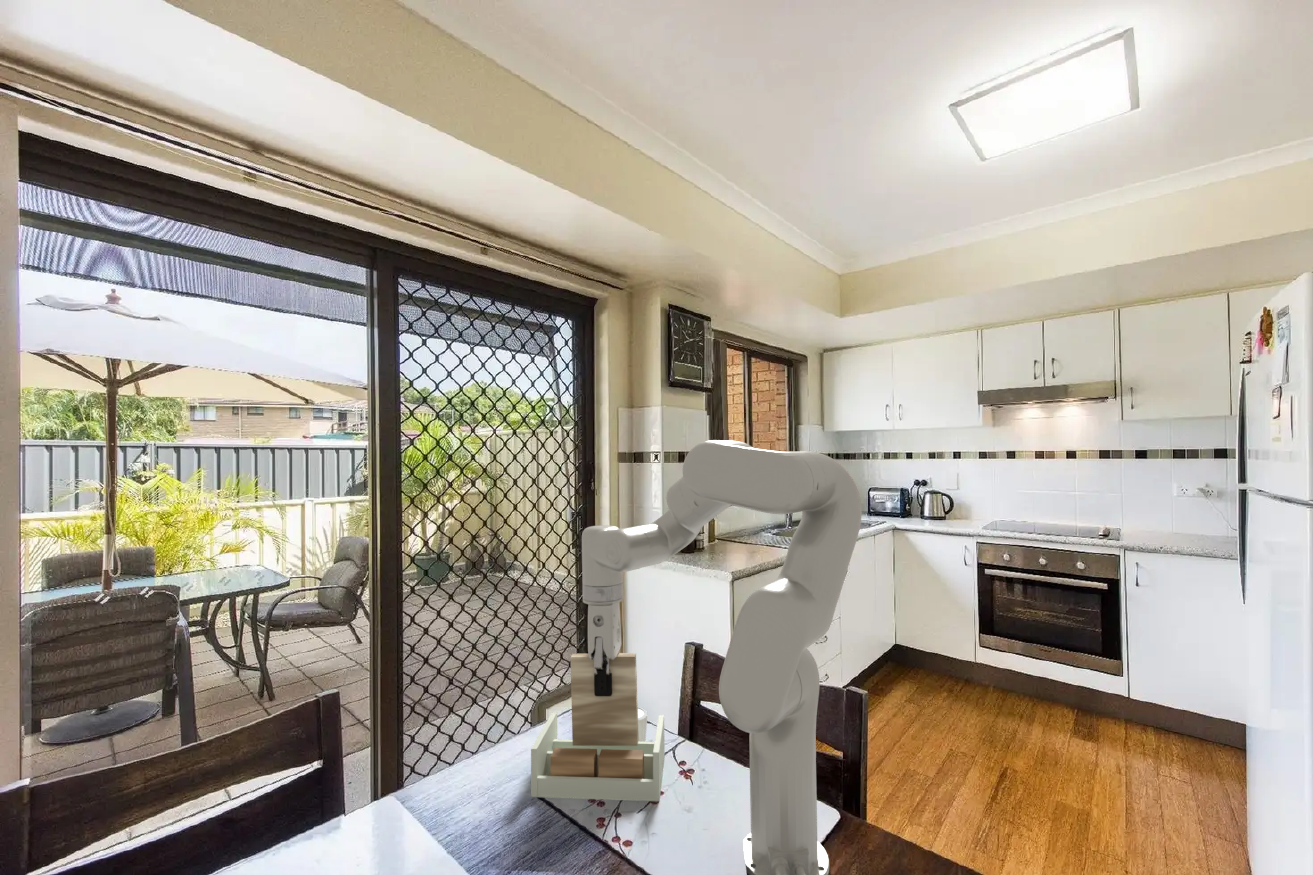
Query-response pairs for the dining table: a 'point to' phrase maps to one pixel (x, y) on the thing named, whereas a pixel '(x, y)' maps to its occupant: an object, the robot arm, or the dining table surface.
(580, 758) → the offcut
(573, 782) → the rack
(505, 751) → the dining table surface
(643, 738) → the white cup
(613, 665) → the birch sheet
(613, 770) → the offcut
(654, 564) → the robot arm
